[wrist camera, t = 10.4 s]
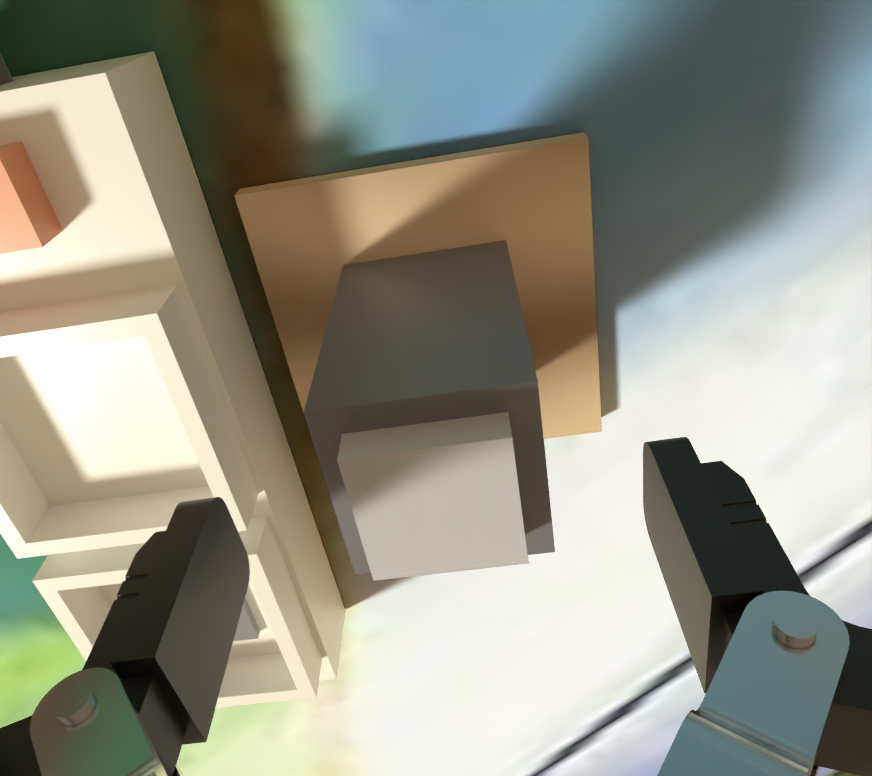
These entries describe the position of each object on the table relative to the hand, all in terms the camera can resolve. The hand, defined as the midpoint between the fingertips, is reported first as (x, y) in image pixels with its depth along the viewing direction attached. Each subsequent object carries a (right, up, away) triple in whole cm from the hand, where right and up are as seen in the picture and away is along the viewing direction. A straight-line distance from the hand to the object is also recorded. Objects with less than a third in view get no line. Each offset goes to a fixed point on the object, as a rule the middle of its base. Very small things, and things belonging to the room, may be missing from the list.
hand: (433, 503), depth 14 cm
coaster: (0, +4, +7) cm, 8 cm away
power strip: (-9, +3, +8) cm, 12 cm away
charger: (0, +4, +7) cm, 8 cm away
